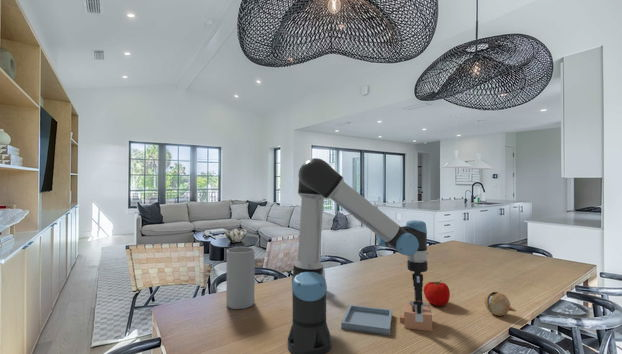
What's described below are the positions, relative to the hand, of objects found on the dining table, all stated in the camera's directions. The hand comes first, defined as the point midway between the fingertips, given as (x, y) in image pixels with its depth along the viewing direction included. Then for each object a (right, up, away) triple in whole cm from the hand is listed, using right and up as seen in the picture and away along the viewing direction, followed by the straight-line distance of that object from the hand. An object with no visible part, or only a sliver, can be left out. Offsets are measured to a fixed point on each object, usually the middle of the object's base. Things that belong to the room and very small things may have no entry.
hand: (418, 314), depth 123 cm
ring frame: (0, -4, 0) cm, 4 cm away
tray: (-20, -4, +2) cm, 20 cm away
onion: (+36, -4, +7) cm, 37 cm away
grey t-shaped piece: (0, -4, 0) cm, 4 cm away
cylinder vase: (-75, -5, +20) cm, 78 cm away
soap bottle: (-40, -5, +38) cm, 55 cm away
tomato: (+15, -4, +20) cm, 26 cm away
